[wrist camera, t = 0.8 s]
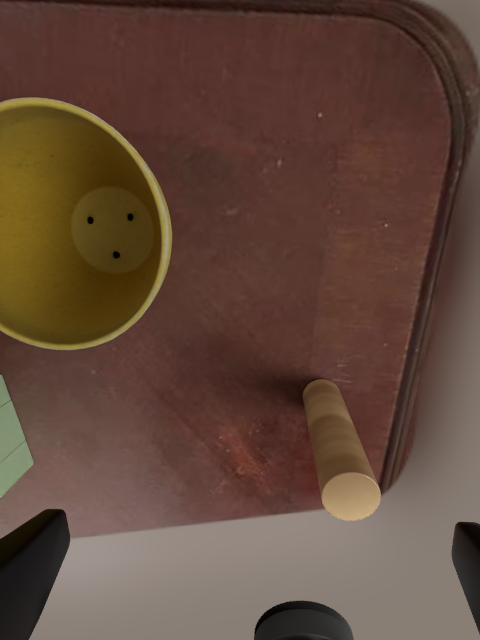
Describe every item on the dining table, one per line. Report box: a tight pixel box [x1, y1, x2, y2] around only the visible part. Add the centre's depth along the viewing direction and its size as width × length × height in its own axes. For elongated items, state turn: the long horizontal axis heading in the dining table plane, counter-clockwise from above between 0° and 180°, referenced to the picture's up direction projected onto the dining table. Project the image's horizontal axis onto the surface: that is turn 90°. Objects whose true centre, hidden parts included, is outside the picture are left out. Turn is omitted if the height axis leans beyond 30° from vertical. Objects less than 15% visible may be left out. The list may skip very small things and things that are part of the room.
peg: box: [303, 379, 381, 521], centre depth 19 cm, size 2×2×9 cm
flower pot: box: [0, 97, 172, 350], centre depth 18 cm, size 10×10×7 cm
